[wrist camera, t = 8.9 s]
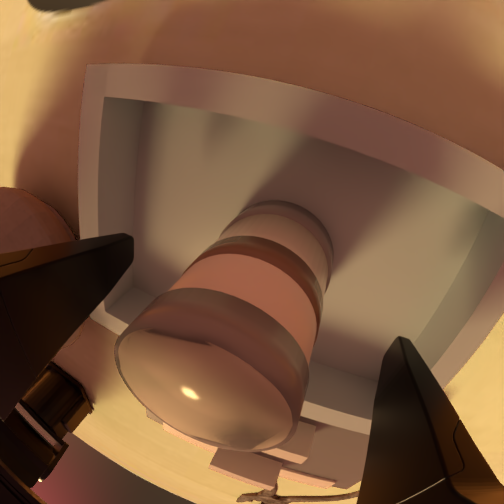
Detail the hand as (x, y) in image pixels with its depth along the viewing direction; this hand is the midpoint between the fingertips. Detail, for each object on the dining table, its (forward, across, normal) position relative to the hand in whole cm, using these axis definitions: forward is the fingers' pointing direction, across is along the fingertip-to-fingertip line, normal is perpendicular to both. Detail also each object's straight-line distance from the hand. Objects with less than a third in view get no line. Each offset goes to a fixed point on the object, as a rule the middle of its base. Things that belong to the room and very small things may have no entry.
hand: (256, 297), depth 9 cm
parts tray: (+4, 0, 0) cm, 4 cm away
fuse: (+3, 0, 0) cm, 3 cm away
